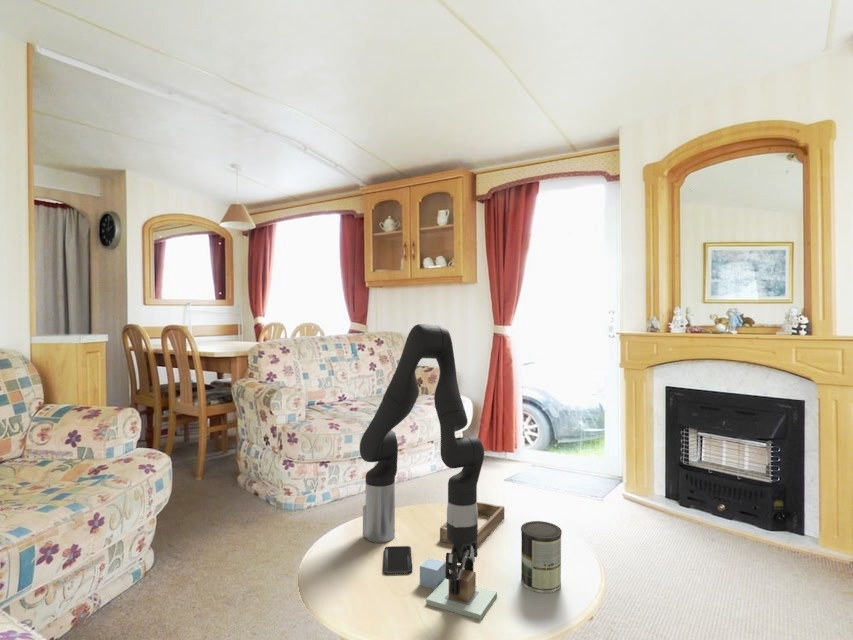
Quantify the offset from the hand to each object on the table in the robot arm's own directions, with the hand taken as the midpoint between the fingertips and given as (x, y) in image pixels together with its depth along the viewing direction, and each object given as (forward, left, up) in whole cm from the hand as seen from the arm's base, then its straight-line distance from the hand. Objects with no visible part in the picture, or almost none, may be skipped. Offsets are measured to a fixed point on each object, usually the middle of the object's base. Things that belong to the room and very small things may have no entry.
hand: (462, 585), depth 123 cm
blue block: (-10, +4, -4) cm, 11 cm away
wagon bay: (-13, +40, -4) cm, 42 cm away
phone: (-24, +10, -4) cm, 26 cm away
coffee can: (+15, +17, -4) cm, 23 cm away
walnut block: (0, 0, -2) cm, 2 cm away
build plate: (0, 0, -4) cm, 4 cm away
